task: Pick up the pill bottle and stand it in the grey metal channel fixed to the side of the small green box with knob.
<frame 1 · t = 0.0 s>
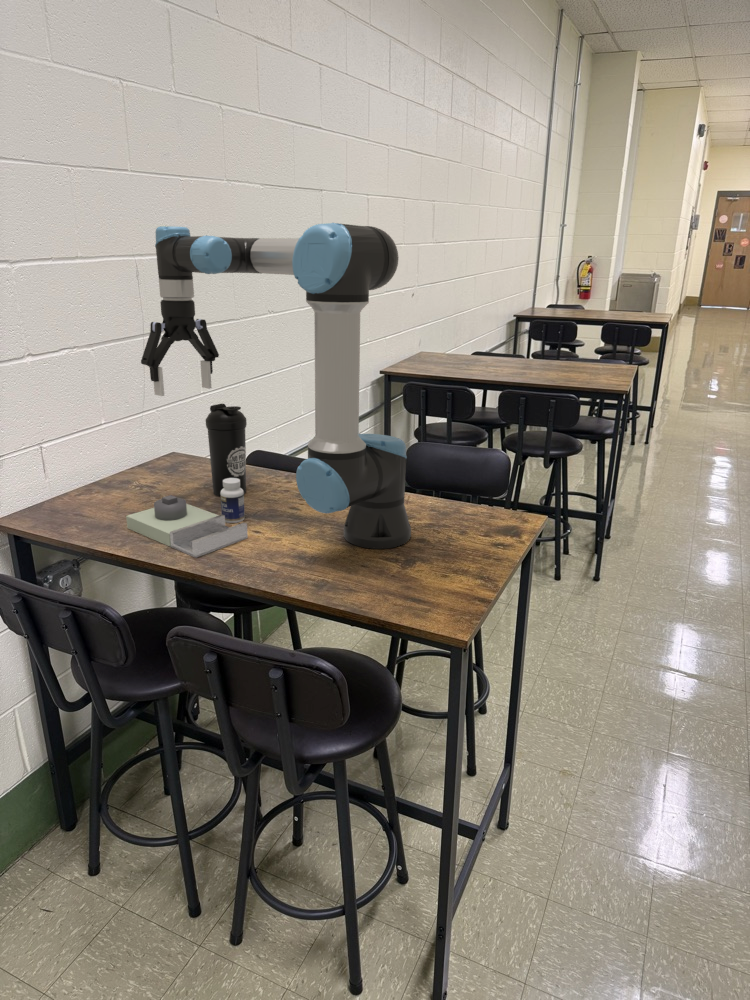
hand: (183, 391, 164), 28 cm above the table, fingers open, 13 cm apart
green box with knob: (174, 528, 157), on the table
water bottle: (229, 492, 181), on the table
grey metal channel: (210, 542, 149), on the table
pill bottle: (233, 520, 163), on the table
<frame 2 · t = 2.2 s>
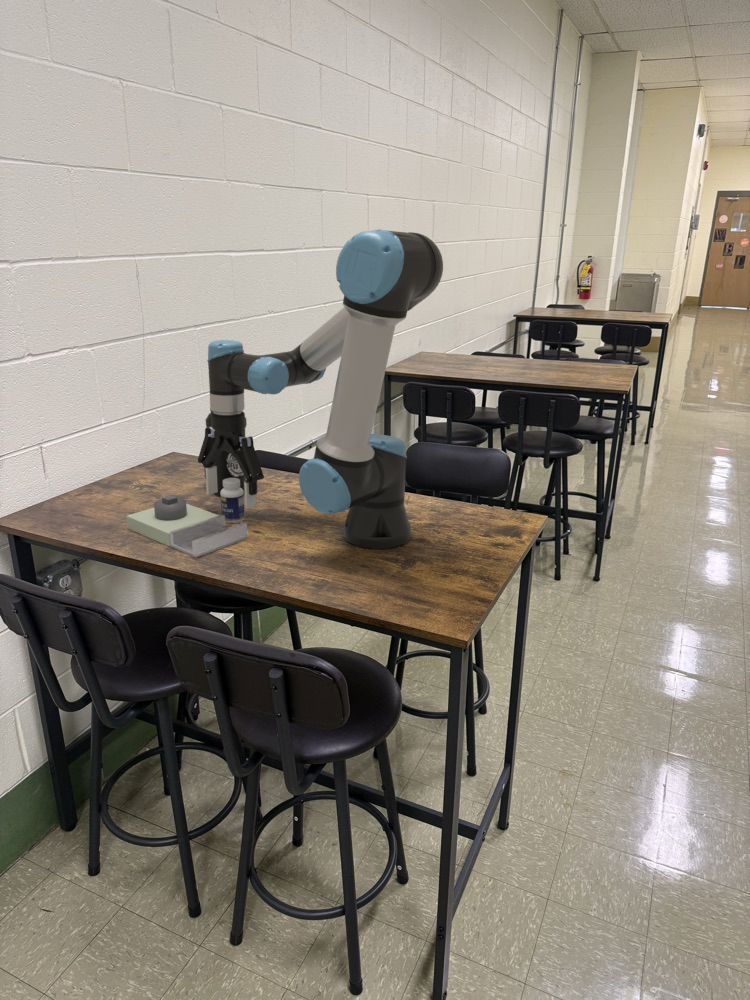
hand: (230, 500, 161), 5 cm above the table, fingers open, 13 cm apart
nothing on the table moved.
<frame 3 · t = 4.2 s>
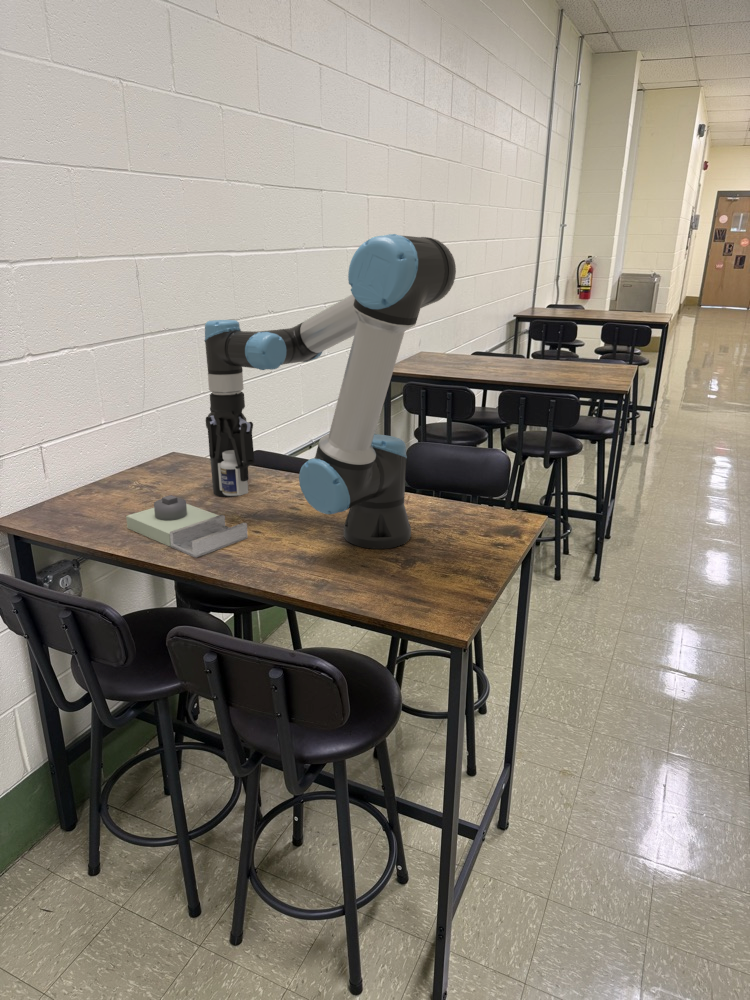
hand: (234, 491, 160), 7 cm above the table, fingers closed on pill bottle, 5 cm apart
pill bottle: (234, 493, 160), point 7 cm above the table, touching gripper
everything else where it was.
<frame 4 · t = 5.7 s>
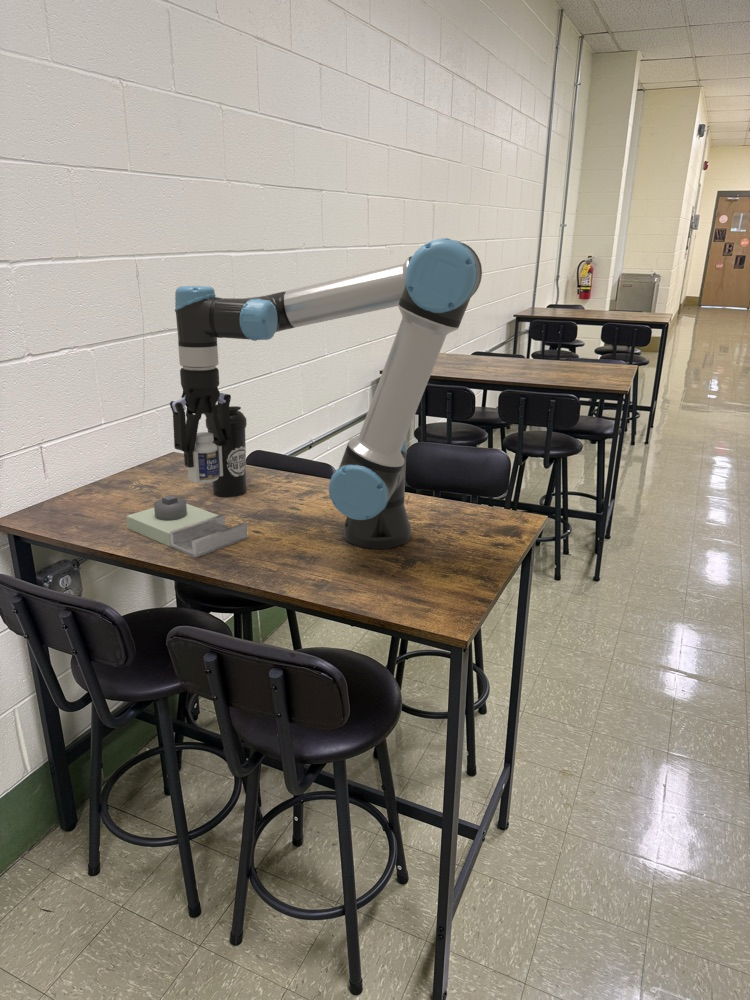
hand: (206, 477, 145), 15 cm above the table, fingers closed on pill bottle, 5 cm apart
pill bottle: (206, 480, 145), point 14 cm above the table, touching gripper
everything else where it was.
when the fingers open (1 cm above the table, at t = 7.4 s): pill bottle stays where it is, resting on grey metal channel.
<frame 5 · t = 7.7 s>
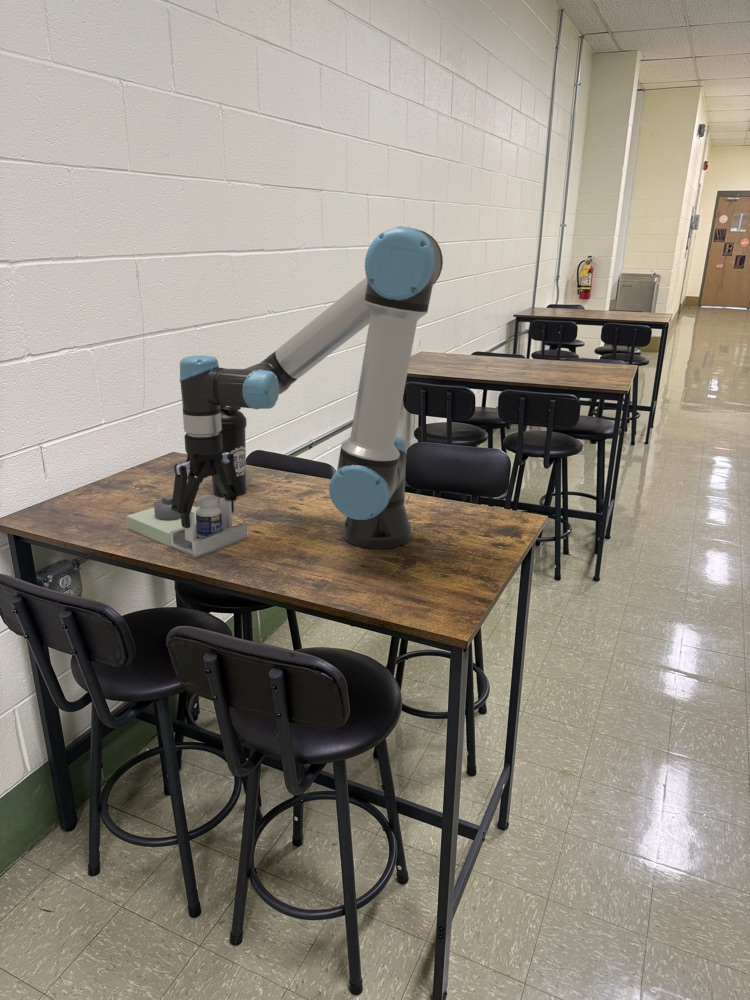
hand: (209, 534, 149), 2 cm above the table, fingers open, 9 cm apart
pill bottle: (210, 541, 149), resting on grey metal channel
everything else where it was.
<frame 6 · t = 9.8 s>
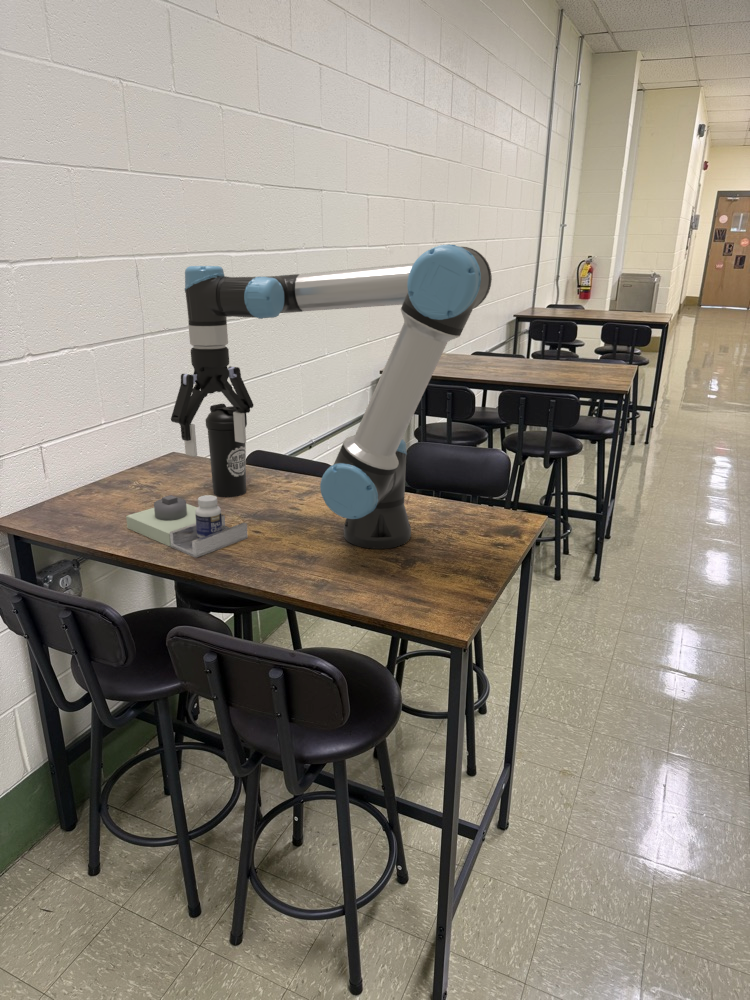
hand: (216, 448, 146), 20 cm above the table, fingers open, 13 cm apart
nothing on the table moved.
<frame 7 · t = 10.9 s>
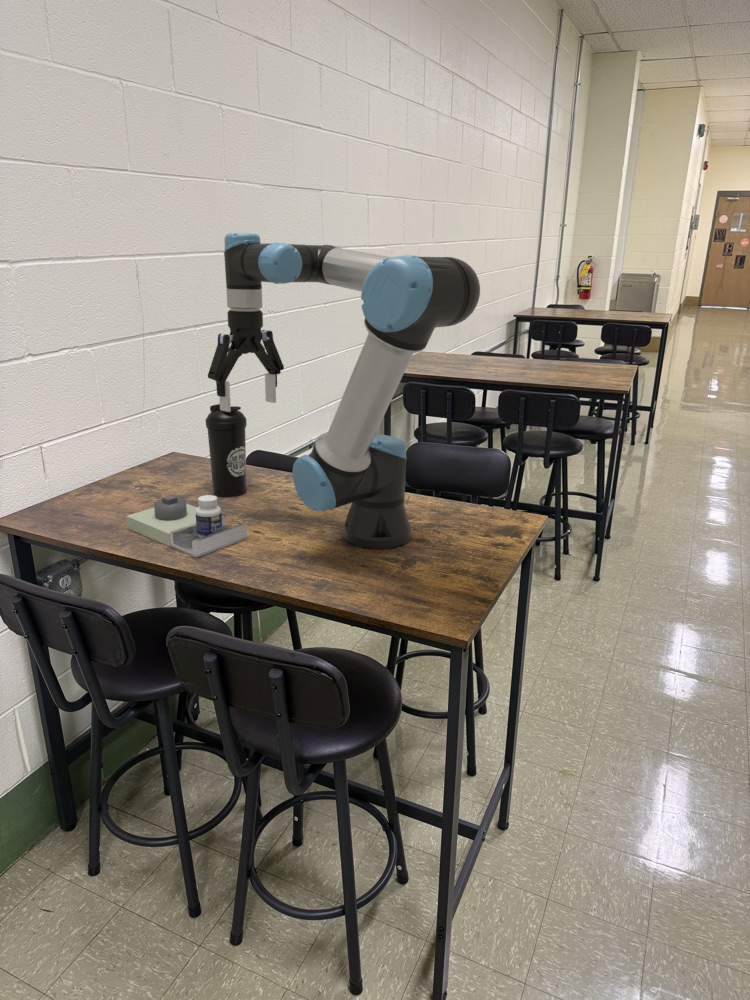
hand: (248, 406, 156), 27 cm above the table, fingers open, 13 cm apart
nothing on the table moved.
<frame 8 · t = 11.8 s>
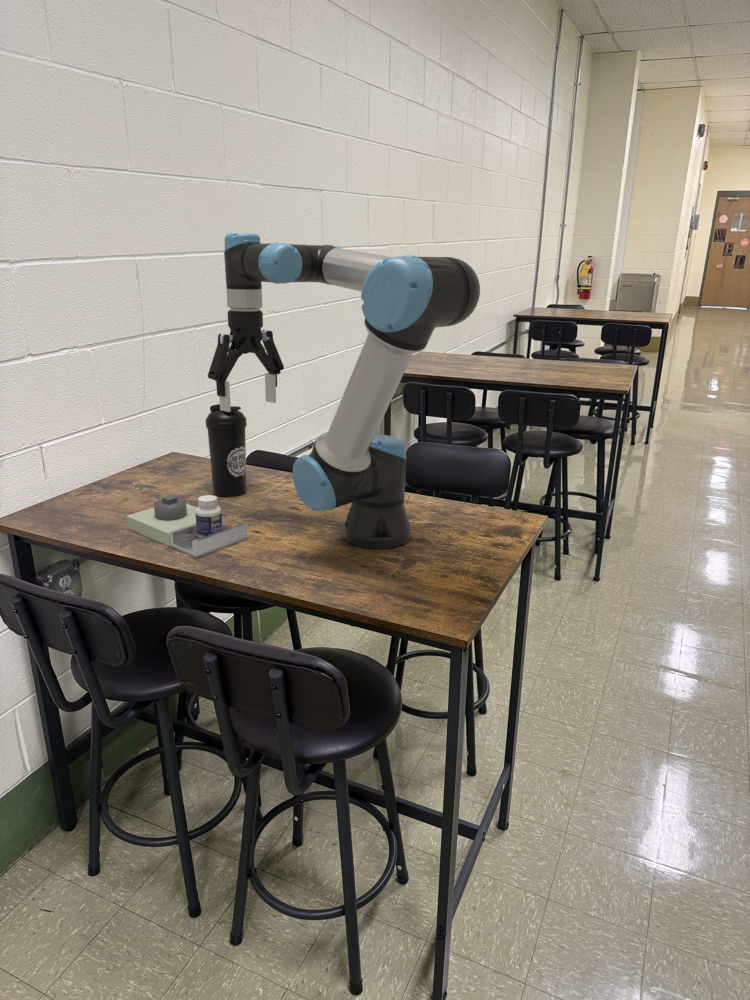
hand: (248, 406, 156), 27 cm above the table, fingers open, 13 cm apart
nothing on the table moved.
at the end: pill bottle inside the target area on the grey metal channel (0.1 cm from its centre), point 0.3 cm above the grey metal channel's base; pill bottle tilted 0°; the gripper is holding nothing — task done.
